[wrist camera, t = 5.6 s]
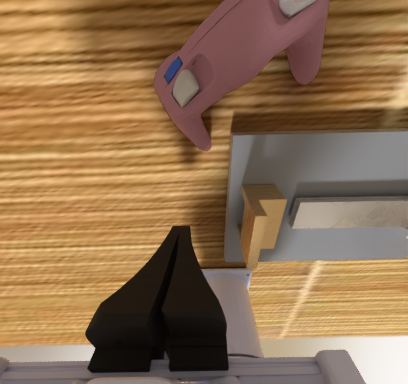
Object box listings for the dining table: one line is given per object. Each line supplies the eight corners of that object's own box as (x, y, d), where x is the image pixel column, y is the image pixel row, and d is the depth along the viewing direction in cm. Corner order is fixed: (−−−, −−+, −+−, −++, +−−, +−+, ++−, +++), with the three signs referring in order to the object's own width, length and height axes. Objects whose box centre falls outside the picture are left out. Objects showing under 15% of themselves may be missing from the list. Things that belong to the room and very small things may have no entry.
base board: (392, 248, 21) (422, 272, 18) (223, 252, 21) (226, 276, 18) (489, 125, 14) (564, 132, 11) (230, 132, 14) (237, 140, 11)
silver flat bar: (413, 220, 16) (425, 227, 15) (287, 222, 16) (292, 229, 16) (433, 194, 15) (447, 200, 14) (295, 197, 15) (301, 203, 14)
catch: (264, 229, 17) (283, 267, 13) (236, 230, 17) (246, 268, 13) (274, 184, 15) (300, 215, 11) (241, 185, 15) (255, 216, 11)
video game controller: (283, 29, 12) (332, -155, 5) (316, 82, 12) (409, -36, 5) (178, 113, 15) (120, 63, 8) (203, 157, 15) (167, 144, 8)
